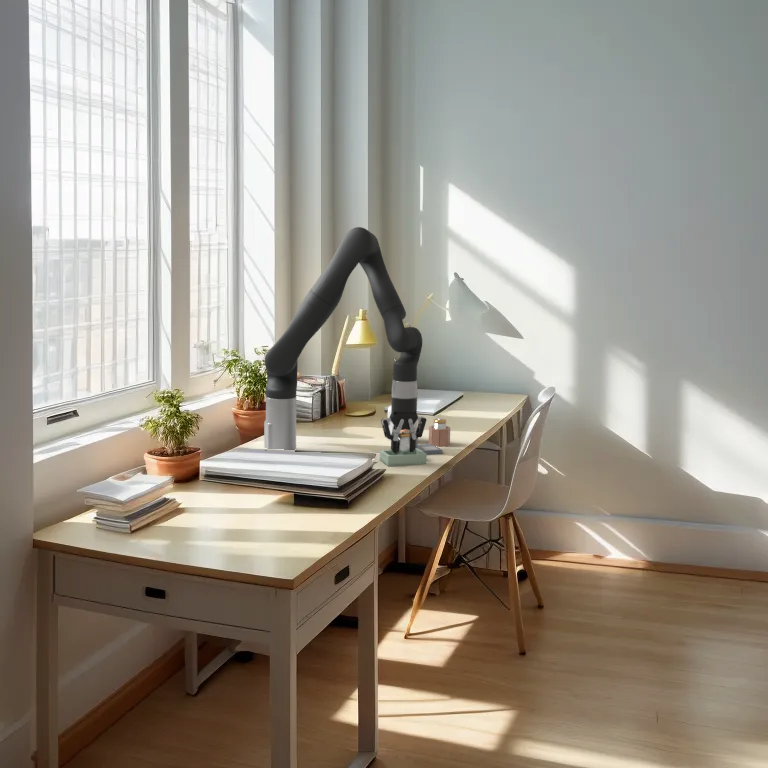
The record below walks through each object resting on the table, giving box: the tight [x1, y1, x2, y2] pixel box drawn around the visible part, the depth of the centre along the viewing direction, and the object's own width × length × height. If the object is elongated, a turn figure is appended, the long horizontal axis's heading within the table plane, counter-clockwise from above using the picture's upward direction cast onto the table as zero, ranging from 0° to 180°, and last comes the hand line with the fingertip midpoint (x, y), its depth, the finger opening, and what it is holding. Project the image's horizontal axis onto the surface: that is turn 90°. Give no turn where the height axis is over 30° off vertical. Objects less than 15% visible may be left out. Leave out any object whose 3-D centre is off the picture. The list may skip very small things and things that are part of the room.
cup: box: [428, 424, 451, 448], centre depth 285 cm, size 6×6×6 cm
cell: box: [396, 431, 411, 455], centre depth 262 cm, size 4×4×8 cm
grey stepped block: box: [416, 438, 443, 456], centre depth 274 cm, size 13×9×6 cm
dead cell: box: [433, 417, 447, 429], centre depth 284 cm, size 4×4×8 cm
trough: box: [379, 448, 428, 467], centre depth 262 cm, size 12×8×3 cm, turn 109°
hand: (403, 451), depth 262 cm, fingers open, 4 cm apart
